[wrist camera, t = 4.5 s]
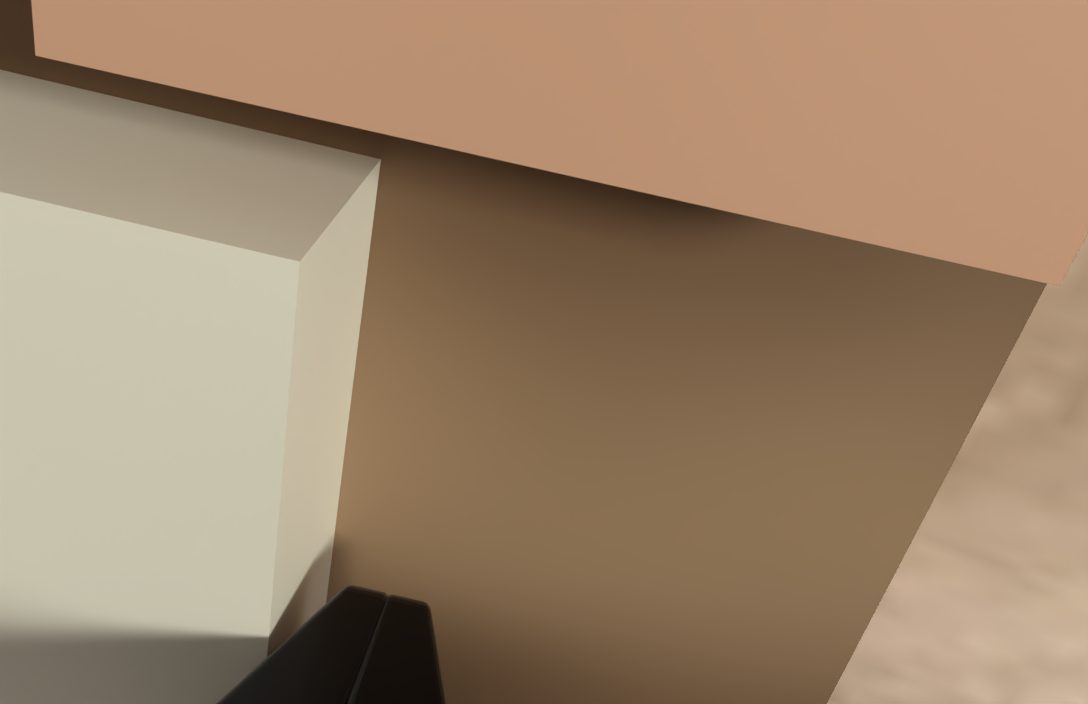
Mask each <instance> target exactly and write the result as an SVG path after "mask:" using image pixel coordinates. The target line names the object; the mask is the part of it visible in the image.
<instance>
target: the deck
mask: <svg viewBox="0 0 1088 704" xmlns="http://www.w3.org/2000/svg"><path fill="white" fill-rule="evenodd" d="M0 70H4V71H8V72H13V73H17V74H21V75H25V76H30V77H34V78H38V79H42V80H47V81H51V82H55V83H59V84H64V85H68V86H72V87H76V88H81V89H85V90H89V91H93V92H98V93H102V94H106V95H110V96H114V97H119V98H123V99H127V100H131V101H136V102H140V103H144V104H148V105H153V106H157V107H161V108H165V109H170V110H174V111H178V112H182V113H187V114H191V115H195V116H199V117H204V118H208V119H212V120H216V121H221V122H225V123H229V124H233V125H238V126H242V127H246V128H250V129H255V130H259V131H263V132H267V133H272V134H276V135H280V136H284V137H289V138H293V139H297V140H301V141H306V142H310V143H314V144H318V145H322V146H327V147H331V148H335V149H339V150H344V151H348V152H352V153H356V154H361V155H365V156H369V157H373V158H378V159H381V163H380V171H379V179H378V187H377V195H376V203H375V211H374V219H373V227H372V235H371V243H370V252H369V260H368V268H367V276H366V284H365V292H364V300H363V308H362V316H361V324H360V332H359V340H358V348H357V357H356V365H355V373H354V381H353V389H352V397H351V405H350V413H349V421H348V429H347V437H346V445H345V454H344V462H343V470H342V478H341V486H340V494H339V502H338V510H337V518H336V526H335V534H334V542H333V551H332V559H331V567H330V575H329V583H328V591H327V599H326V603H327V602H328V601H329V600H330V599H331V598H333V597H334V596H335V595H336V594H337V593H338V592H339V591H340V590H342V589H343V588H344V587H346V586H349V585H355V586H360V587H364V588H368V589H372V590H377V591H381V592H384V593H386V594H387V595H388V596H389V595H391V594H392V595H398V596H403V597H407V598H411V599H415V600H420V601H424V602H426V603H427V604H428V605H429V607H430V609H431V613H432V619H433V625H434V631H435V638H436V644H437V650H438V656H439V662H440V669H441V675H442V681H443V687H444V693H445V699H446V704H827V702H828V700H829V698H830V696H831V694H832V692H833V691H834V689H835V687H836V685H837V683H838V681H839V679H840V677H841V675H842V673H843V672H844V670H845V668H846V666H847V664H848V662H849V660H850V658H851V656H852V654H853V652H854V651H855V649H856V647H857V645H858V643H859V641H860V639H861V637H862V635H863V633H864V631H865V630H866V628H867V626H868V624H869V622H870V620H871V618H872V616H873V614H874V612H875V610H876V609H877V607H878V605H879V603H880V601H881V599H882V597H883V595H884V593H885V591H886V589H887V588H888V586H889V584H890V582H891V580H892V578H893V576H894V574H895V572H896V570H897V568H898V567H899V565H900V563H901V561H902V559H903V557H904V555H905V553H906V551H907V549H908V548H909V546H910V544H911V542H912V540H913V538H914V536H915V534H916V532H917V530H918V528H919V527H920V525H921V523H922V521H923V519H924V517H925V515H926V513H927V511H928V509H929V507H930V506H931V504H932V502H933V500H934V498H935V496H936V494H937V492H938V490H939V488H940V486H941V485H942V483H943V481H944V479H945V477H946V475H947V473H948V471H949V469H950V467H951V465H952V464H953V462H954V460H955V458H956V456H957V454H958V452H959V450H960V448H961V446H962V444H963V443H964V441H965V439H966V437H967V435H968V433H969V431H970V429H971V427H972V425H973V423H974V422H975V420H976V418H977V416H978V414H979V412H980V410H981V408H982V406H983V404H984V403H985V401H986V399H987V397H988V395H989V393H990V391H991V389H992V387H993V385H994V383H995V382H996V380H997V378H998V376H999V374H1000V372H1001V370H1002V368H1003V366H1004V364H1005V362H1006V361H1007V359H1008V357H1009V355H1010V353H1011V351H1012V349H1013V347H1014V345H1015V343H1016V341H1017V340H1018V338H1019V336H1020V334H1021V332H1022V330H1023V328H1024V326H1025V324H1026V322H1027V320H1028V319H1029V317H1030V315H1031V313H1032V311H1033V309H1034V307H1035V305H1036V303H1037V301H1038V299H1039V298H1040V296H1041V294H1042V292H1043V290H1044V288H1045V286H1046V284H1047V283H1043V282H1038V281H1034V280H1029V279H1025V278H1021V277H1016V276H1012V275H1007V274H1003V273H998V272H994V271H989V270H985V269H981V268H976V267H972V266H967V265H963V264H958V263H954V262H950V261H945V260H941V259H936V258H932V257H927V256H923V255H918V254H914V253H910V252H905V251H901V250H896V249H892V248H887V247H883V246H878V245H874V244H870V243H865V242H861V241H856V240H852V239H847V238H843V237H839V236H834V235H830V234H825V233H821V232H816V231H812V230H807V229H803V228H799V227H794V226H790V225H785V224H781V223H776V222H772V221H768V220H763V219H759V218H754V217H750V216H745V215H741V214H736V213H732V212H728V211H723V210H719V209H714V208H710V207H705V206H701V205H697V204H692V203H688V202H683V201H679V200H674V199H670V198H665V197H661V196H657V195H652V194H648V193H643V192H639V191H634V190H630V189H626V188H621V187H617V186H612V185H608V184H603V183H599V182H594V181H590V180H586V179H581V178H577V177H572V176H568V175H563V174H559V173H555V172H550V171H546V170H541V169H537V168H532V167H528V166H523V165H519V164H515V163H510V162H506V161H501V160H497V159H492V158H488V157H483V156H479V155H475V154H470V153H466V152H461V151H457V150H452V149H448V148H444V147H439V146H435V145H430V144H426V143H421V142H417V141H412V140H408V139H404V138H399V137H395V136H390V135H386V134H381V133H377V132H373V131H368V130H364V129H359V128H355V127H350V126H346V125H341V124H337V123H333V122H328V121H324V120H319V119H315V118H310V117H306V116H302V115H297V114H293V113H288V112H284V111H279V110H275V109H270V108H266V107H262V106H257V105H253V104H248V103H244V102H239V101H235V100H231V99H226V98H222V97H217V96H213V95H208V94H204V93H199V92H195V91H191V90H186V89H182V88H177V87H173V86H168V85H164V84H159V83H155V82H151V81H146V80H142V79H137V78H133V77H128V76H124V75H120V74H115V73H111V72H106V71H102V70H97V69H93V68H88V67H84V66H80V65H75V64H71V63H66V62H62V61H57V60H53V59H49V58H44V57H40V56H35V43H34V30H33V17H32V4H31V0H0Z"/></svg>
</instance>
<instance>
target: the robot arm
mask: <svg viewBox="0 0 1088 704" xmlns="http://www.w3.org/2000/svg"><path fill="white" fill-rule="evenodd" d="M216 704H446V699H445V693H444V687H443V681H442V675H441V669H440V662H439V656H438V650H437V644H436V638H435V631H434V625H433V619H432V613H431V609H430V607H429V605H428V604H427V603H426V602H424V601H420V600H415V599H411V598H407V597H403V596H398V595H392V594H391V595H389V596H388V595H387V594H386V593H384V592H381V591H377V590H372V589H368V588H364V587H360V586H355V585H349V586H346V587H344V588H343V589H342V590H340V591H339V592H338V593H337V594H336V595H335V596H334V597H333V598H331V599H330V600H329V601H328V602H327V603H326V604H325V605H324V606H323V607H322V608H320V609H319V610H318V611H317V612H316V613H315V614H314V615H313V616H312V617H311V618H309V619H308V620H307V621H306V622H305V623H304V624H303V625H302V626H301V627H300V628H298V629H297V630H296V631H295V632H294V633H293V634H292V635H291V636H290V637H289V638H287V639H286V640H285V641H284V642H283V643H282V644H281V645H280V646H279V647H278V648H277V649H275V650H274V651H273V652H272V653H271V654H270V655H269V656H268V657H267V658H266V659H264V660H263V661H262V662H261V663H260V664H259V665H258V666H257V667H256V668H255V669H253V670H252V671H251V672H250V673H249V674H248V675H247V676H246V677H245V678H244V679H242V680H241V681H240V682H239V683H238V684H237V685H236V686H235V687H234V688H233V689H231V690H230V691H229V692H228V693H227V694H226V695H225V696H224V697H223V698H222V699H220V700H219V701H218V702H217V703H216Z"/></svg>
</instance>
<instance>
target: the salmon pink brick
mask: <svg viewBox="0 0 1088 704" xmlns="http://www.w3.org/2000/svg"><path fill="white" fill-rule="evenodd" d="M31 4H32V17H33V30H34V43H35V56H40V57H44V58H49V59H53V60H57V61H62V62H66V63H71V64H75V65H80V66H84V67H88V68H93V69H97V70H102V71H106V72H111V73H115V74H120V75H124V76H128V77H133V78H137V79H142V80H146V81H151V82H155V83H159V84H164V85H168V86H173V87H177V88H182V89H186V90H191V91H195V92H199V93H204V94H208V95H213V96H217V97H222V98H226V99H231V100H235V101H239V102H244V103H248V104H253V105H257V106H262V107H266V108H270V109H275V110H279V111H284V112H288V113H293V114H297V115H302V116H306V117H310V118H315V119H319V120H324V121H328V122H333V123H337V124H341V125H346V126H350V127H355V128H359V129H364V130H368V131H373V132H377V133H381V134H386V135H390V136H395V137H399V138H404V139H408V140H412V141H417V142H421V143H426V144H430V145H435V146H439V147H444V148H448V149H452V150H457V151H461V152H466V153H470V154H475V155H479V156H483V157H488V158H492V159H497V160H501V161H506V162H510V163H515V164H519V165H523V166H528V167H532V168H537V169H541V170H546V171H550V172H555V173H559V174H563V175H568V176H572V177H577V178H581V179H586V180H590V181H594V182H599V183H603V184H608V185H612V186H617V187H621V188H626V189H630V190H634V191H639V192H643V193H648V194H652V195H657V196H661V197H665V198H670V199H674V200H679V201H683V202H688V203H692V204H697V205H701V206H705V207H710V208H714V209H719V210H723V211H728V212H732V213H736V214H741V215H745V216H750V217H754V218H759V219H763V220H768V221H772V222H776V223H781V224H785V225H790V226H794V227H799V228H803V229H807V230H812V231H816V232H821V233H825V234H830V235H834V236H839V237H843V238H847V239H852V240H856V241H861V242H865V243H870V244H874V245H878V246H883V247H887V248H892V249H896V250H901V251H905V252H910V253H914V254H918V255H923V256H927V257H932V258H936V259H941V260H945V261H950V262H954V263H958V264H963V265H967V266H972V267H976V268H981V269H985V270H989V271H994V272H998V273H1003V274H1007V275H1012V276H1016V277H1021V278H1025V279H1029V280H1034V281H1038V282H1043V283H1047V284H1052V285H1056V286H1060V285H1061V283H1062V281H1063V279H1064V277H1065V275H1066V273H1067V272H1068V270H1069V268H1070V266H1071V264H1072V262H1073V260H1074V258H1075V257H1076V255H1077V253H1078V251H1079V249H1080V247H1081V245H1082V243H1083V242H1084V240H1085V238H1086V236H1087V234H1088V0H31Z"/></svg>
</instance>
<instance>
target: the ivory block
mask: <svg viewBox="0 0 1088 704" xmlns="http://www.w3.org/2000/svg"><path fill="white" fill-rule="evenodd" d="M380 163H381V159H378V158H373V157H369V156H365V155H361V154H356V153H352V152H348V151H344V150H339V149H335V148H331V147H327V146H322V145H318V144H314V143H310V142H306V141H301V140H297V139H293V138H289V137H284V136H280V135H276V134H272V133H267V132H263V131H259V130H255V129H250V128H246V127H242V126H238V125H233V124H229V123H225V122H221V121H216V120H212V119H208V118H204V117H199V116H195V115H191V114H187V113H182V112H178V111H174V110H170V109H165V108H161V107H157V106H153V105H148V104H144V103H140V102H136V101H131V100H127V99H123V98H119V97H114V96H110V95H106V94H102V93H98V92H93V91H89V90H85V89H81V88H76V87H72V86H68V85H64V84H59V83H55V82H51V81H47V80H42V79H38V78H34V77H30V76H25V75H21V74H17V73H13V72H8V71H4V70H0V704H216V703H217V702H218V701H219V700H220V699H222V698H223V697H224V696H225V695H226V694H227V693H228V692H229V691H230V690H231V689H233V688H234V687H235V686H236V685H237V684H238V683H239V682H240V681H241V680H242V679H244V678H245V677H246V676H247V675H248V674H249V673H250V672H251V671H252V670H253V669H255V668H256V667H257V666H258V665H259V664H260V663H261V662H262V661H263V660H264V659H266V658H267V657H268V656H269V655H270V654H271V653H272V652H273V651H274V650H275V649H277V648H278V647H279V646H280V645H281V644H282V643H283V642H284V641H285V640H286V639H287V638H289V637H290V636H291V635H292V634H293V633H294V632H295V631H296V630H297V629H298V628H300V627H301V626H302V625H303V624H304V623H305V622H306V621H307V620H308V619H309V618H311V617H312V616H313V615H314V614H315V613H316V612H317V611H318V610H319V609H320V608H322V607H323V606H324V605H325V604H326V599H327V591H328V583H329V575H330V567H331V559H332V551H333V542H334V534H335V526H336V518H337V510H338V502H339V494H340V486H341V478H342V470H343V462H344V454H345V445H346V437H347V429H348V421H349V413H350V405H351V397H352V389H353V381H354V373H355V365H356V357H357V348H358V340H359V332H360V324H361V316H362V308H363V300H364V292H365V284H366V276H367V268H368V260H369V252H370V243H371V235H372V227H373V219H374V211H375V203H376V195H377V187H378V179H379V171H380Z"/></svg>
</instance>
